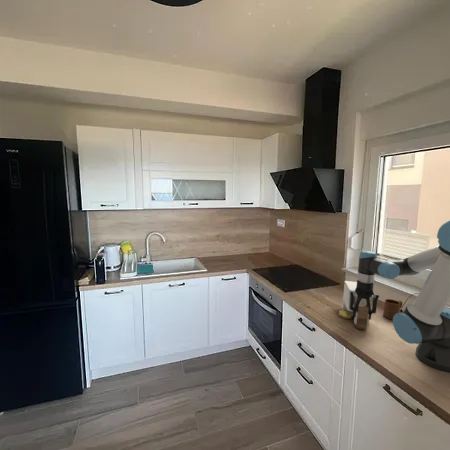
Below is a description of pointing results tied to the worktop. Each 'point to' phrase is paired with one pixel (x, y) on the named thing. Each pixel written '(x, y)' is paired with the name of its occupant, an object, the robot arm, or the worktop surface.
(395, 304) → the mug
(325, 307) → the worktop surface
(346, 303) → the cabinet
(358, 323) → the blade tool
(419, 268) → the robot arm
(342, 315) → the brass token
